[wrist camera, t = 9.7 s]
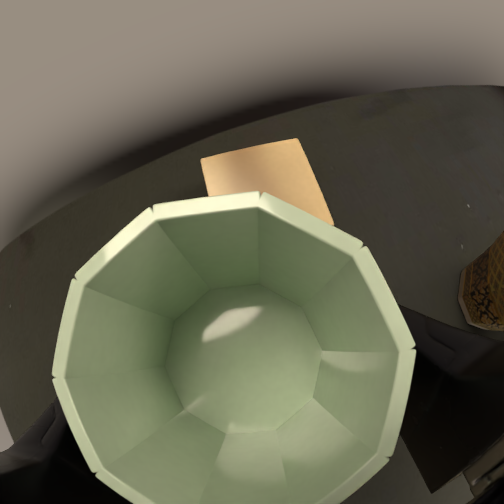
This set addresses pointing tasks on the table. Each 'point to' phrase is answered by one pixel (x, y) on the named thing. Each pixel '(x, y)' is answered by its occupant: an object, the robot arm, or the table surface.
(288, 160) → the tan block
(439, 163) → the table surface
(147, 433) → the pale green faceted cup
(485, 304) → the ceramic cup
